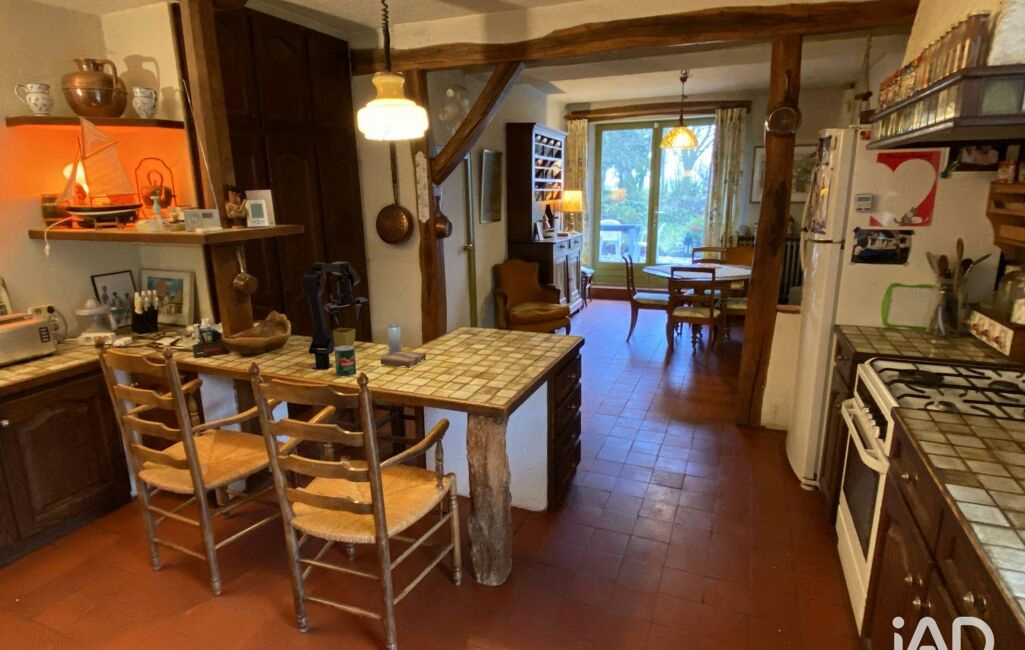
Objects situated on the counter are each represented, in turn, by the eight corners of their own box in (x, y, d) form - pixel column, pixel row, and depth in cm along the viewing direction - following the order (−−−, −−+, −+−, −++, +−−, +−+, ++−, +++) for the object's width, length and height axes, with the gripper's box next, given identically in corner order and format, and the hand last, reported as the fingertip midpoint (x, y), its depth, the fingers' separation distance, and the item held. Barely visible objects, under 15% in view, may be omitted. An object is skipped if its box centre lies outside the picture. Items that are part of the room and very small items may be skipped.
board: (409, 368, 238) (409, 362, 238) (380, 364, 243) (380, 358, 243) (426, 359, 251) (425, 353, 251) (398, 356, 256) (398, 350, 256)
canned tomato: (346, 378, 226) (344, 351, 224) (331, 375, 230) (329, 348, 227) (360, 372, 233) (358, 346, 230) (346, 369, 236) (344, 344, 234)
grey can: (399, 355, 257) (398, 326, 254) (387, 355, 257) (386, 326, 254) (403, 352, 262) (401, 323, 259) (391, 352, 262) (389, 323, 259)
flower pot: (346, 351, 264) (345, 333, 262) (330, 350, 266) (329, 331, 264) (357, 347, 272) (356, 328, 270) (341, 345, 275) (340, 327, 273)
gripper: (356, 283, 267) (360, 314, 272) (317, 289, 256) (322, 322, 261) (367, 287, 259) (370, 319, 264) (327, 294, 248) (331, 328, 253)
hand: (348, 322), depth 260 cm, fingers open, 9 cm apart
